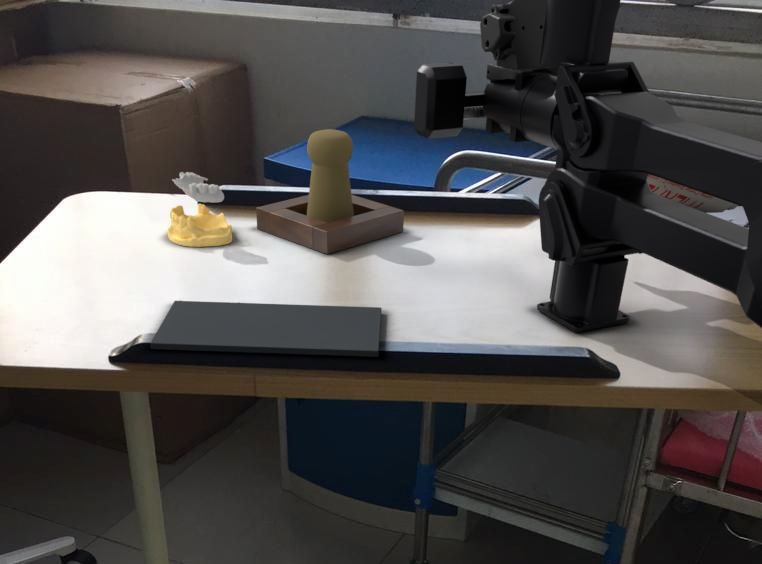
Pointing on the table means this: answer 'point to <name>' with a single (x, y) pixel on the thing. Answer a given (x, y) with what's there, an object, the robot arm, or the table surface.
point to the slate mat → (270, 328)
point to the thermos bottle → (688, 196)
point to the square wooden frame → (330, 224)
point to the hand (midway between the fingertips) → (458, 82)
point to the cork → (330, 175)
